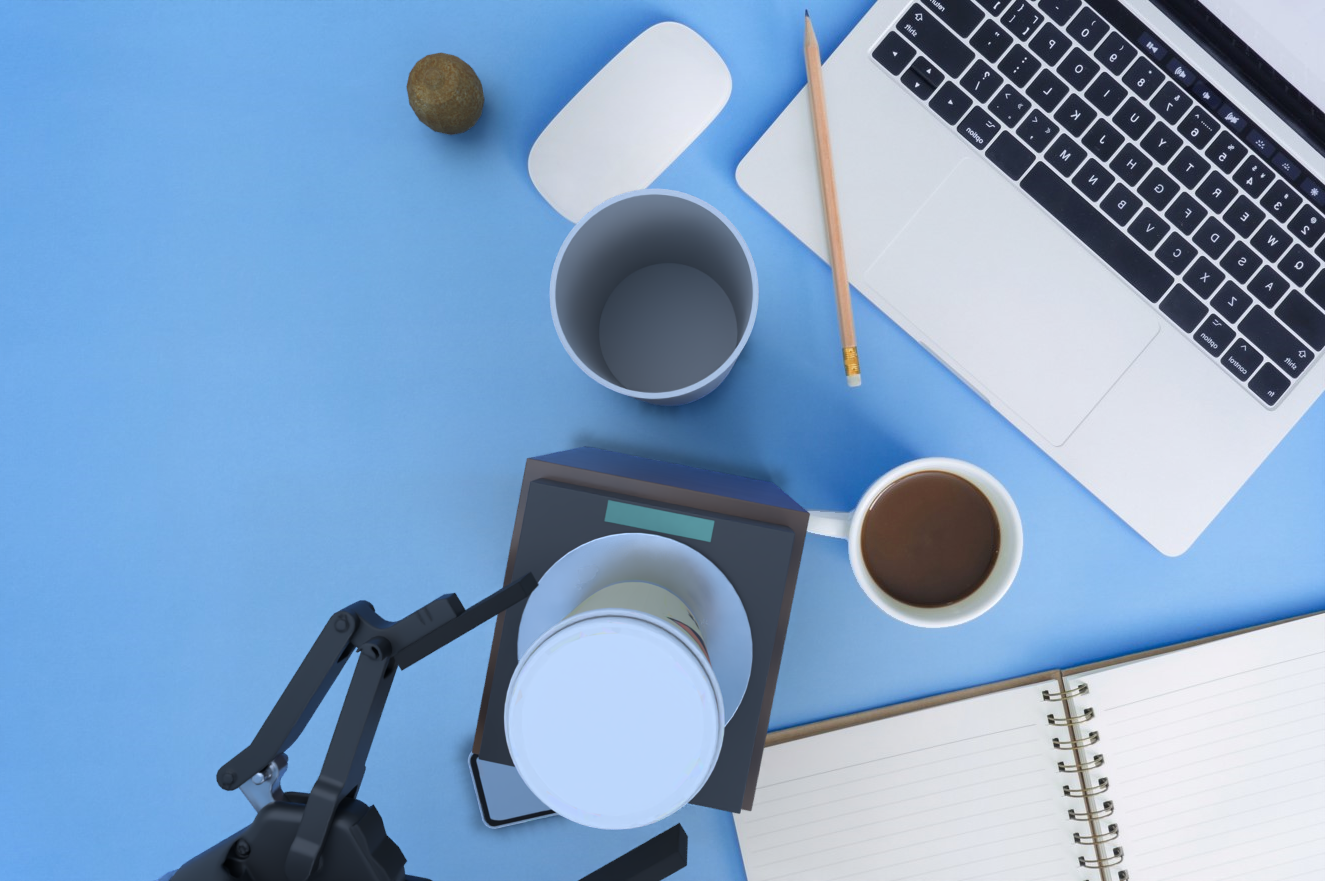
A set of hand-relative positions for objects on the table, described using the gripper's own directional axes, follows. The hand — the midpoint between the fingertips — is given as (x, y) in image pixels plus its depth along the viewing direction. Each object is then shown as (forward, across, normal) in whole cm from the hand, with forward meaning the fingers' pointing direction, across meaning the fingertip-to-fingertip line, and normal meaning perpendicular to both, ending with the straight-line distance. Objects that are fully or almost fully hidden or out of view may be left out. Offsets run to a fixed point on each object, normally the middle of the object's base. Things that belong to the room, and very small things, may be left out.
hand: (607, 712), depth 40 cm
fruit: (+6, -44, -39) cm, 59 cm away
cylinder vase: (+12, -17, -38) cm, 44 cm away
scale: (+1, 0, -12) cm, 12 cm away
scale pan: (+1, 0, -9) cm, 9 cm away
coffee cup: (+1, 0, -9) cm, 9 cm away
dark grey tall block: (+1, 0, -38) cm, 38 cm away
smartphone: (-16, +11, -38) cm, 43 cm away
